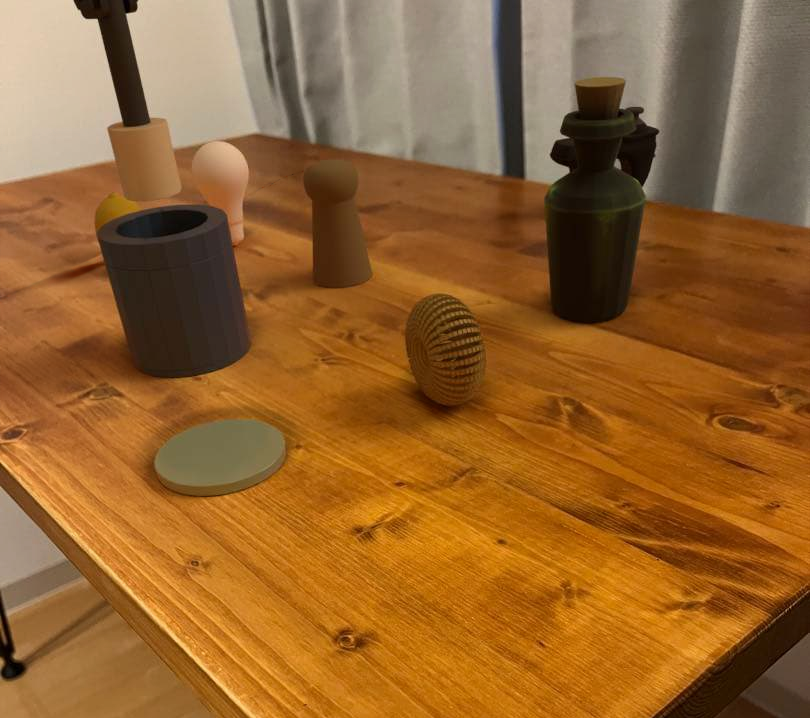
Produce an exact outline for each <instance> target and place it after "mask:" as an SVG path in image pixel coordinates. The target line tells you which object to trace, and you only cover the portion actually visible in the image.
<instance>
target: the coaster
mask: <svg viewBox="0 0 810 718" xmlns="http://www.w3.org/2000/svg"><path fill="white" fill-rule="evenodd" d="M287 453H288V452H287V445H286V439H285V436H284V435H283V433H282V432H281V431H280V429H278V428H276V426H273V425H272V424H270V423H267V422H264V421H261V420H255V419H249V418H230V419H220V420H213V421H209V422H205V423H202V424H198V425H195V426H193V427H190V428H187V429H185V430H183V431H181V432H179V433H177V434H176V435H174V436H172V437H171V438H170V439H168V440H167V441H165V442H164V443H163V444H162V445H161V447H160V448H159V449H158V451H157V452H156V455H155V457H154V461H153V464H154V465H153V466H154V470H155V473H156V474H155V475H156V476H157V478H158V480H159V482H160V483H161V484H162V485H163V486H164V487H165V488H167V489H169V490H171V491H172V492H174V493H177V494H182V495H186V496H187V495H188V496H194V497H209V496H210V497H211V496H221V495H228V494H232V493H236V492H239V491H243V490H246V489H248V488H251V487H253V486H255V485H258V484H260V483H262V482H264V481H265V480H267V479H268V478H269V477H271V476H273V475H274V474H275V473H276V472H277V471H278V470H280V468H281V467H282V466H283V464H284V462H285V460H286V458H287Z"/></svg>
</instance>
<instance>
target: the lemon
mask: <svg viewBox="0 0 810 718" xmlns="http://www.w3.org/2000/svg"><path fill="white" fill-rule="evenodd" d="M141 210H142V208H141V207H140V205H139V204H138V203H137V202H136V201H130V200H127V199H126V198H125V196H124V195H120V194H119V193H117V192H116V191H115V192H110V193H109V194H108V196H107V197H106V198H104V199H103V200H102V201H100V203H99V204H98V206H97V207H96V210H95V214H94V230H95V235H96V239H97V242H98V243H99V241H98V238H97V232H98V230H99V229H100V227H101V226H103V225H105V224H106V223H108V222H109V221H111V220H113V219H116V218H119V217H121V216H124V215H126V214H130V213H133V212H137V211H141Z"/></svg>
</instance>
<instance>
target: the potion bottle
mask: <svg viewBox="0 0 810 718" xmlns="http://www.w3.org/2000/svg"><path fill="white" fill-rule="evenodd" d="M626 82H627V80H626V78H623V77H617V76H597V77H587V78H583V79H579V80H576V81H575V82H574V88H575V97H576V103H577V109H578V110H574V111H571V112H568V113H566V114H565V115H564V116H563V118H562V119H563V120H562V123H561V126H560V129H559V133H560V134H561V136H564V137H567V138H571V139H573V144H574V149H575V154H576V158H577V163H578V168H576V169H574V170H573V171H571V172H570V171H569V172H568V173H567V174H565V175H564V176H562V177H560V178H558V179H557V180H556V181H554V182H553V183H552V184H551V185H550V187H549V189H548V191H547V192H546V194H545V196H544V198H543V201H544V202H543V203H544V215H545V231H546V246H547V261H548V271H549V272H548V275H549V289H550V304H551V308H552V311H553V312H554V313H555V314H556V315H557V316H559V317H561V318H562V319H564V320H568V321H572V322H580V323H599V322H605V321H609V320H614V319H615V318H618V317H619V316H621V315H622V314H623V313H624V312H625V311H626V309H627V307H628V306H629V299H630V295H631V287H632V282H633V275H634V270H635V264H636V258H637V253H638V247H639V240H640V234H641V228H642V223H643V217H644V210H645V204H646V199H647V195H646V194H645V191H644V189H643V187H641V184H640V183H639V182H638V181H637V180H636V179H635V178H633V177H632V176H630V175H628V174H627V173H625V172H623V171H622V170H621V168H618V167H617V166H615V163H616V160H617V159H616V157H617V154H618V151H619V147H620V144H621V141H622V137H624V136H626V135H628V134H630V133H632V132H634V131H635V130H636V129H637V128H636V124H635V119H634V115H633V113H632V112H631V111H629V110H625V109H626V108H620V107H621V103H622V99H623V95H624V91H625V86H626Z"/></svg>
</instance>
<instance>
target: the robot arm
mask: <svg viewBox="0 0 810 718" xmlns="http://www.w3.org/2000/svg"><path fill="white" fill-rule="evenodd" d="M138 2H139V0H123V3H124V7H125V12H126V15H128V14H132V13H136V12H137V11H138V8H139V7H138V5H139V4H138ZM73 3H74V5H75V7H76V8H77V10H78V11H80V14H81V15H82V18H84V19H85V20H98V19H102V18H107V17H109V16H110V8H109V4H108V0H73Z"/></svg>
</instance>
